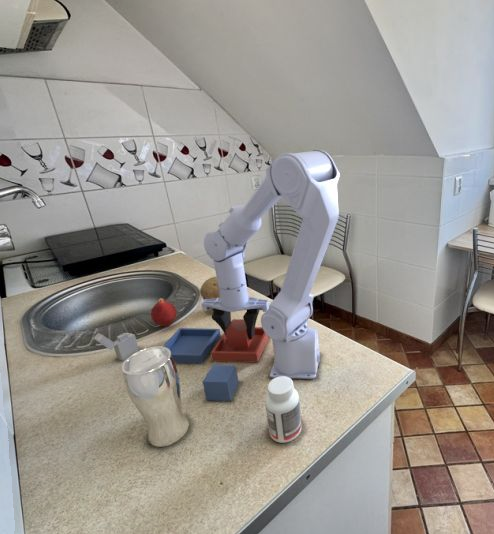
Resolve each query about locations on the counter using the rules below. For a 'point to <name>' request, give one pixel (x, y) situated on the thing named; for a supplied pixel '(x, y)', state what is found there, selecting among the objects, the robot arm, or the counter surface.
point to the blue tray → (192, 344)
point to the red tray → (241, 349)
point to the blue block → (221, 382)
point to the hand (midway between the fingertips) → (241, 336)
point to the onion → (163, 313)
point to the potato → (210, 289)
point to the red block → (237, 334)
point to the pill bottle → (283, 410)
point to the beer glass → (156, 394)
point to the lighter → (120, 344)
